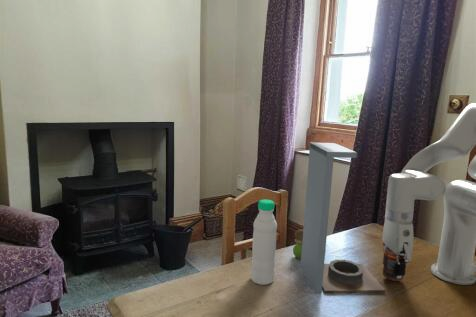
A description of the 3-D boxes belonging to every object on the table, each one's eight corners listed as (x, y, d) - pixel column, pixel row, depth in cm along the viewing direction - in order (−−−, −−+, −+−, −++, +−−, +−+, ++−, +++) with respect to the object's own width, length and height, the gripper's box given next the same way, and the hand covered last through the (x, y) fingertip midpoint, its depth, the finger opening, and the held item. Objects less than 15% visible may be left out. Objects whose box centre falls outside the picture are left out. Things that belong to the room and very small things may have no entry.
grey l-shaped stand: (323, 265, 118) (334, 143, 110) (342, 294, 101) (356, 152, 93) (300, 265, 117) (309, 142, 109) (315, 294, 100) (327, 151, 93)
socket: (361, 266, 118) (362, 255, 117) (384, 293, 103) (386, 280, 102) (309, 266, 117) (310, 255, 116) (324, 293, 101) (326, 281, 100)
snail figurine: (310, 263, 119) (312, 229, 117) (291, 259, 121) (293, 226, 119) (312, 256, 124) (314, 224, 122) (293, 253, 126) (296, 221, 124)
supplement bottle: (405, 283, 106) (409, 248, 104) (384, 280, 108) (387, 246, 105) (400, 273, 112) (404, 239, 110) (380, 271, 113) (383, 238, 111)
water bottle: (258, 271, 112) (262, 196, 108) (277, 278, 108) (283, 200, 104) (246, 280, 107) (249, 201, 102) (266, 288, 103) (270, 206, 98)
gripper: (428, 225, 98) (421, 284, 101) (396, 205, 115) (391, 256, 118) (402, 225, 97) (396, 285, 101) (373, 205, 114) (369, 257, 118)
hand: (393, 269), depth 109 cm, fingers closed on supplement bottle, 6 cm apart
